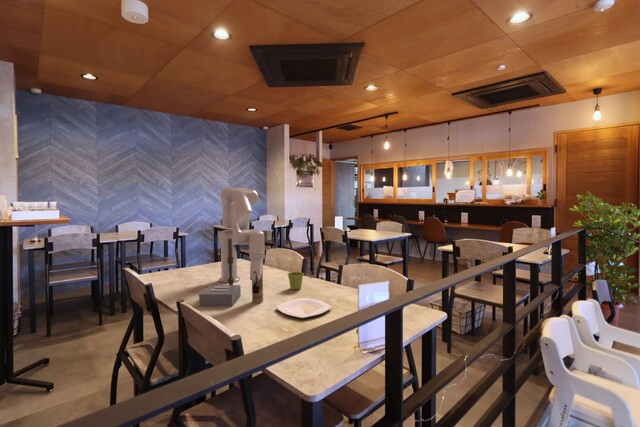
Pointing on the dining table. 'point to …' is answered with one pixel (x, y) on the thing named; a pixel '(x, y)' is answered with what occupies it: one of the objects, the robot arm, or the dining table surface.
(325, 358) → the dining table surface
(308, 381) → the dining table surface
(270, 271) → the dining table surface
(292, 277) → the plant pot
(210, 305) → the grey slotted base block
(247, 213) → the robot arm
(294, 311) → the plate
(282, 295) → the dining table surface
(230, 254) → the candlestick holder
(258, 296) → the tan upright bar
